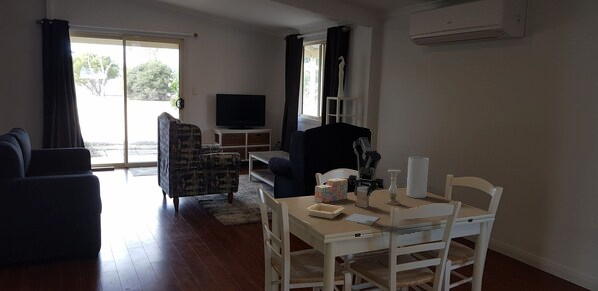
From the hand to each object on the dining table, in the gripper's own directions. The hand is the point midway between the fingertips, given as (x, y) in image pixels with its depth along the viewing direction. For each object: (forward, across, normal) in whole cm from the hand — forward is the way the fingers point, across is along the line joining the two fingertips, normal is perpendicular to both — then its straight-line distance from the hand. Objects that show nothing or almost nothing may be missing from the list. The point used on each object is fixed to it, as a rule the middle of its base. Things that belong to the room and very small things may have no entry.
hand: (362, 194), depth 233 cm
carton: (+10, -20, +9) cm, 24 cm away
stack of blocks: (-13, -31, +33) cm, 47 cm away
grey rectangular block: (+3, 0, +5) cm, 6 cm away
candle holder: (-22, +4, +42) cm, 48 cm away
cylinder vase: (-42, +12, +62) cm, 76 cm away
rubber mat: (+8, 0, +10) cm, 13 cm away
